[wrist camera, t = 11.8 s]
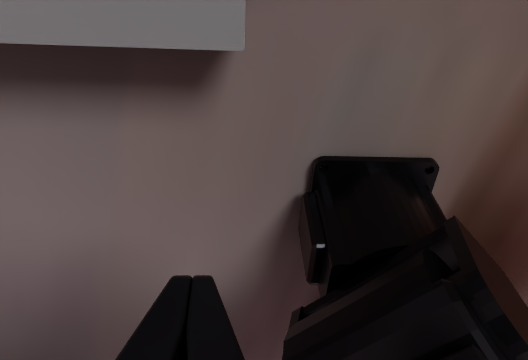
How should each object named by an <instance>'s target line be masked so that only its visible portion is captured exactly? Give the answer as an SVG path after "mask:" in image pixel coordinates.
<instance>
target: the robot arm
mask: <svg viewBox="0 0 528 360" xmlns="http://www.w3.org/2000/svg"><path fill="white" fill-rule="evenodd" d="M324 164H326V165H327V167H325V168H320V166H321V165H324ZM429 166H431V168H430V169H428V170H425V169H426V168H427V167H429ZM438 171H439V166H438V164H437V162H436V161H435V160H434V159H432V158H404V157H351V156H321V157H319V158H317V159H316V160H315V161H314V164H313V171H312V178H311V186H310V192H306V193H305V194H304V195H303V196H302V204H301V212H300V220H299V236H300V243H301V249H302V256H303V262H304V269H305V276H306V281H307V282H308V283H309V284H310V285H318V287H319V292H320V298H319V299H318V300H316V301H314V302H313V303H311V304H309V305H308V306H306V307H303V306H302V307H300V308H298V309H296V310H295V311H293V312H292V316H291V321H290V325H289V330H288V333H287V335H286V337H285V340H284V347H283V356H282V360H528V307H527V306H526V304H525V303H524V301H523V300H522V298H521V297H520V295H519V294H518V292H517V291H516V289H515V288H514V286H513V285H512V283H511V282H510V280H509V279H508V277H507V276H506V274H505V273H504V272H503V270H502V269H501V268H500V267H499V266H498V264H497V263H496V262H495V261H494V260H493V259H492V258H491V256H490V255H489V254H488V253H487V252H486V251H485V250H484V248H483V247H482V246H481V245H480V244H479V243H478V242H477V240H476V239H475V238H474V237H473V236H472V235H471V234H470V232H469V231H468V230H467V229H466V228H465V227H464V226H463V224H462V223H461V222H460V221H459V220H458V219H457V218H456V217H455V216H453V217H452V218H450V219H448V220H447V219H446V218H445V216H444V214H443V212H442V210H441V209H440V207H439V205H438V203H437V201H436V200H435V198H434V196H433V194H432V189H433V186H434V183H435V180H436V177H437V174H438ZM115 360H245V359H244V357H243V354H242V352H241V349H240V346H239V344H238V341H237V339H236V336H235V334H234V331H233V328H232V326H231V323H230V321H229V318H228V315H227V313H226V310H225V308H224V305H223V303H222V300H221V297H220V295H219V292H218V290H217V287H216V284H215V282H214V279H213V278H212V276H209V275H196V276H194V277H193V278H192V277H191V276H189V275H176V276H173V277H171V279H170V280H169V281H168V283H167V284H166V286H165V287H164V289H163V290H162V292H161V293H160V295H159V296H158V298H157V299H156V301H155V302H154V303H153V305H152V306H151V308H150V309H149V311H148V312H147V314H146V315H145V317H144V318H143V320H142V321H141V323H140V324H139V326H138V327H137V329H136V330H135V331H134V333H133V334H132V336H131V337H130V339H129V340H128V342H127V343H126V345H125V346H124V348H123V349H122V351H121V352H120V354H119V355H118V356H117V358H116V359H115Z"/></svg>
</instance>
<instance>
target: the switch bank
mask: <svg viewBox="0 0 528 360" xmlns="http://www.w3.org/2000/svg"><path fill="white" fill-rule="evenodd" d="M245 3H246V0H0V43H10V44H41V45H71V46H102V47H133V48H163V49H194V50H225V51H244V45H245Z"/></svg>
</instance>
